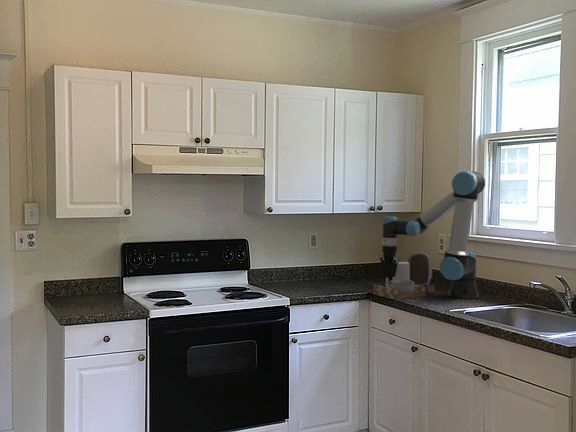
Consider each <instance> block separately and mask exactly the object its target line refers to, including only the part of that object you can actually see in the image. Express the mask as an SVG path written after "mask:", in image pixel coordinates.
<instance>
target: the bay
mask: <svg viewBox="0 0 576 432" xmlns="http://www.w3.org/2000/svg"><path fill="white" fill-rule="evenodd" d="M438 280H439V279H438V278H435V279H434V281H435V283H434V284H429V285H425V286H418V285H414V292H408V293H398V289H393V288H388V287H386V286H382V285H379V284H373V295H375V296H379V297H383V298H387V299H393V300H396V301H400V300H401V301H402V300H409V299H418V298H427V297H429V298H434V297H435V287H438V286H439V283H438V282H439V281H438Z"/></svg>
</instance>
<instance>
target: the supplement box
mask: <svg viewBox="0 0 576 432" xmlns="http://www.w3.org/2000/svg"><path fill="white" fill-rule="evenodd" d="M395 280H410V264H409V263H408V261H399V262H398V264H397V269H396V275H395V277H393V278H392V281H395ZM392 288H393V283H392Z"/></svg>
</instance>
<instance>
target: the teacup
mask: <svg viewBox="0 0 576 432" xmlns="http://www.w3.org/2000/svg"><path fill="white" fill-rule="evenodd" d="M390 283H393V289H398V293H408V292H414V281H410V280H395V281H389V283H388V286H389V288H392V287H391V285H390Z"/></svg>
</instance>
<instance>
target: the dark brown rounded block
mask: <svg viewBox="0 0 576 432" xmlns="http://www.w3.org/2000/svg"><path fill="white" fill-rule="evenodd" d="M431 261H432V260H431V258H430V255H428V253H426V252H424V251H421V250H418V251H414V252H412V253H411V254H410V255H408V260H407V262H408V263H409V264H410V281H414V285H418V286H423V287H426V286H428V285H430V282H431V279H432V278H433V273H434V272H433V270H432V262H431Z"/></svg>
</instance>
